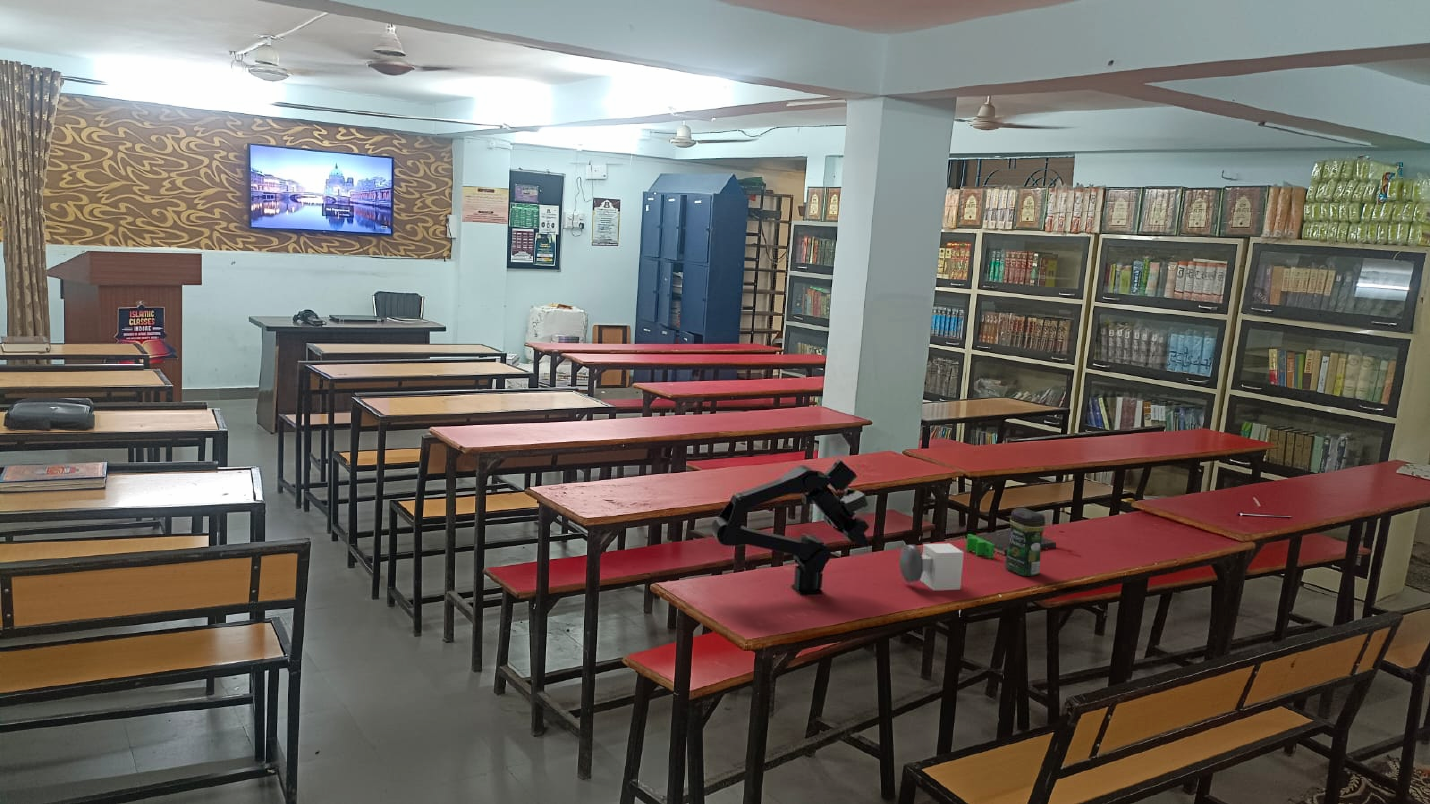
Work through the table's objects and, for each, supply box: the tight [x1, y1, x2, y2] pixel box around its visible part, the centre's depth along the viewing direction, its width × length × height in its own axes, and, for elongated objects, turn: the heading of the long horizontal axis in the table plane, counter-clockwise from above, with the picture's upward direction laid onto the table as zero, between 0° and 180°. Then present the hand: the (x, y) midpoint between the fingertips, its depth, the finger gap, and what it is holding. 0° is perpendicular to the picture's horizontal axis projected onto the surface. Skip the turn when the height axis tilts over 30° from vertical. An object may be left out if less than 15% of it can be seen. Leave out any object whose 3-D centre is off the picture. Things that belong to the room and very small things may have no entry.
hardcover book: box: [973, 529, 1057, 556], centre depth 313 cm, size 16×23×2 cm
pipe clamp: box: [965, 533, 995, 559], centre depth 302 cm, size 11×4×5 cm, turn 26°
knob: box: [899, 544, 933, 583], centre depth 268 cm, size 7×10×10 cm
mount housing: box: [919, 543, 965, 591], centre depth 270 cm, size 8×8×10 cm
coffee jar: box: [1004, 507, 1046, 577], centre depth 285 cm, size 10×8×19 cm
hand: (864, 542), depth 263 cm, fingers open, 5 cm apart
